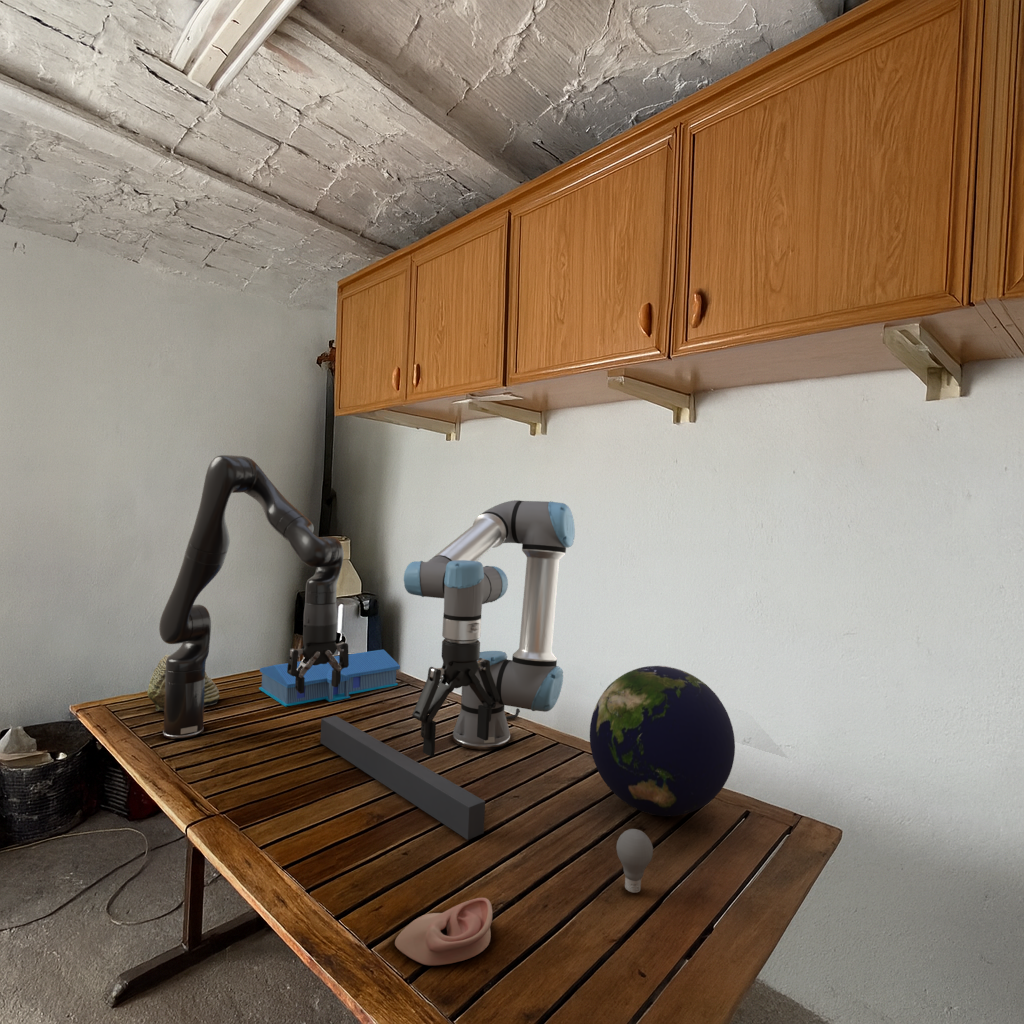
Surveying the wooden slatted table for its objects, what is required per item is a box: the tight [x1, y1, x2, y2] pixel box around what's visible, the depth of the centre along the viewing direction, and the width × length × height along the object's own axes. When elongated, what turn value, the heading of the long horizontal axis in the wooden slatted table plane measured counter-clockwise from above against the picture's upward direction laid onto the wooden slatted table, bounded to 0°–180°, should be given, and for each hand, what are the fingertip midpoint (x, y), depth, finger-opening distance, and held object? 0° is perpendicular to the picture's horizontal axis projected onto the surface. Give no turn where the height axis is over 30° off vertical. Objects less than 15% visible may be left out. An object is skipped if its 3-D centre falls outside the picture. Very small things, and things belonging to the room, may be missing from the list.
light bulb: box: [615, 828, 654, 894], centre depth 106 cm, size 6×6×10 cm
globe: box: [589, 665, 736, 817], centre depth 135 cm, size 30×30×30 cm
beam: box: [320, 715, 486, 841], centre depth 142 cm, size 60×4×6 cm, turn 44°
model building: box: [258, 649, 401, 707], centre depth 208 cm, size 39×24×10 cm, turn 132°
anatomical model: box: [394, 897, 493, 967], centre depth 92 cm, size 13×4×12 cm
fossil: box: [147, 654, 221, 712], centre depth 185 cm, size 9×18×15 cm, turn 132°
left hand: (318, 689), depth 150 cm, fingers open, 8 cm apart
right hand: (456, 746), depth 125 cm, fingers open, 13 cm apart
